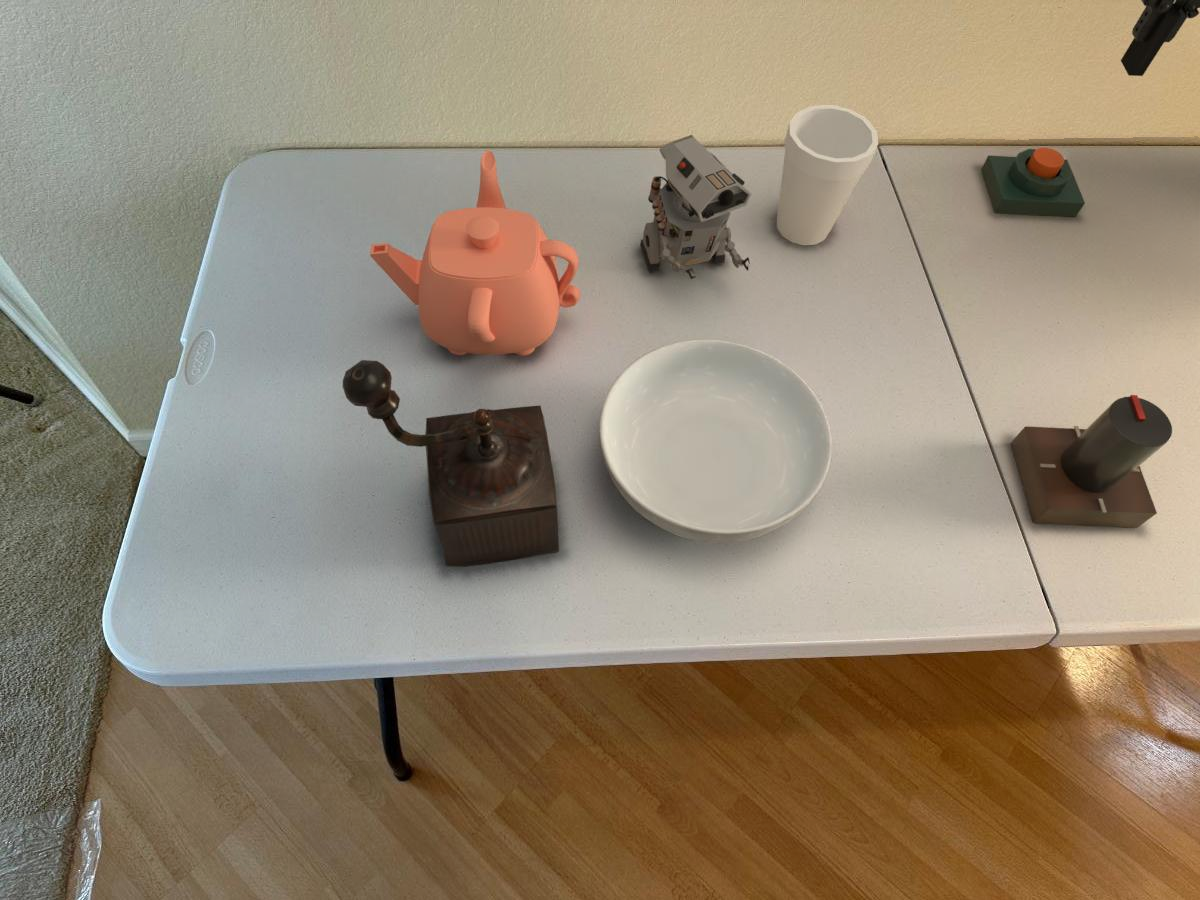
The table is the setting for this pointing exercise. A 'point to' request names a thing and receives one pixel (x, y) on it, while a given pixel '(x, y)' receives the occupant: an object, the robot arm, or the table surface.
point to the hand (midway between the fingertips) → (1131, 67)
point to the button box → (1030, 188)
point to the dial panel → (1074, 485)
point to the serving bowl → (714, 440)
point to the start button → (1045, 162)
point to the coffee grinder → (476, 473)
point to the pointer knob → (1116, 443)
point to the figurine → (692, 209)
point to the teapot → (485, 276)
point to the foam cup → (821, 169)
